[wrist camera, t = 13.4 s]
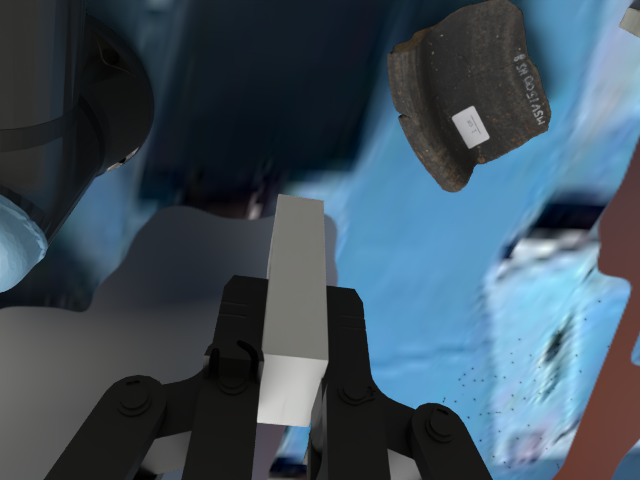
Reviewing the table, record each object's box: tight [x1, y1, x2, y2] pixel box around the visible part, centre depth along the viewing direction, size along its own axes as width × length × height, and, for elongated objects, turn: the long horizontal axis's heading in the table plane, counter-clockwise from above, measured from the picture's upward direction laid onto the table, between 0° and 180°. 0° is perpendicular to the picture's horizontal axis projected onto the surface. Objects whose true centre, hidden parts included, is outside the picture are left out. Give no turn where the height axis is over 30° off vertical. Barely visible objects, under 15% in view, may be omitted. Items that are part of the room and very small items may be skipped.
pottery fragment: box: [387, 0, 551, 192], centre depth 41 cm, size 15×12×4 cm
